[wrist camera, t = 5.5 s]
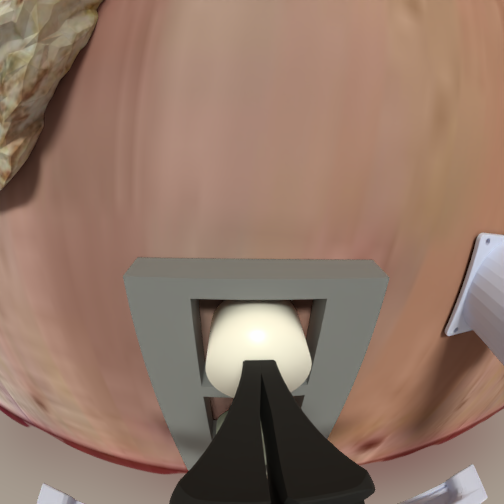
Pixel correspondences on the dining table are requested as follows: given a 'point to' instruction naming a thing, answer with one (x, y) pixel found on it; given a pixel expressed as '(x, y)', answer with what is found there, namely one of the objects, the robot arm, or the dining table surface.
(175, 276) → the button board
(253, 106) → the dining table surface
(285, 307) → the button one
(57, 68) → the stone
